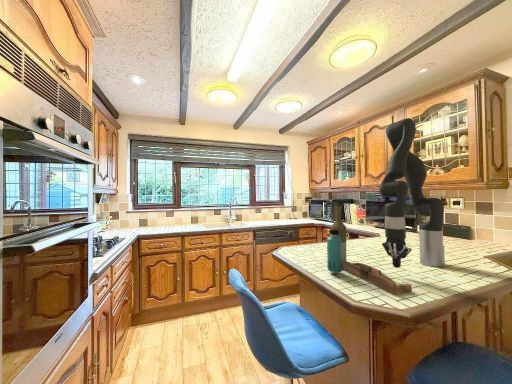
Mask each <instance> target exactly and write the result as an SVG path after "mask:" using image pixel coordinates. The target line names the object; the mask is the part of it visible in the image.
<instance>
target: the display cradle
mask: <svg viewBox="0 0 512 384" xmlns="http://www.w3.org/2000/svg"><path fill="white" fill-rule="evenodd" d="M356 263H357V262H349V261H347V260H346V261H343V268H342V271H343V270H344V271H345V272H347V273H349V274H351V275H353V276H355V277H357V278H359V279H361V280H363V281H365V282H367V283H369V284H370V285H373V286H375V287H377V288H379V289H381V290H383V291H385V292H387V293H389V294H391V295H392V296H394V295H395V296H396V295H398V294H406V293H412V290H413V288H412V284H411V283H408V282H407V283H401V284H400V283H398V284H397V282H395V281H394V280H393V281H394V282H393V281H391V280H388V279H386V278H384V277H382V276H379V275H377V274H375V273H372V268H371V267H372V266H371V267H370V265H369V266H367V265H368V264H366V263H362V262H361V263H362V264H360V267H359V266H357V265H355V264H356ZM365 264H366V265H365Z"/></svg>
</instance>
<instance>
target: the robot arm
mask: <svg viewBox="0 0 512 384" xmlns="http://www.w3.org/2000/svg"><path fill="white" fill-rule="evenodd" d="M416 130H417V129H416V122H415V121H414V120H413V119H412V118H410V117H407V118H403V119H400V120H398V121H395V122H393V123H390V124H387V126H386V127H385V134H386V135H385V136H386V137H387V140H388V142H389V144H390V145H391V148H392V149H393V152H392V153H391V155H390V156H389V159H388V163H387V166H386V167H387V168H386V173H385V174H384V177H383V178H382V181H381V182H380V185H379V187H378V188H379V194H380V195H381V197H383V198H396V200H395V201H393V202H388V203H386V204H384V215H385V216H384V233H385V238H386V239H385V242H382V243H381V246H382V247H383V249H384V250H385V253H386V254H387V256H388V257H389V256H390V257H391V258H392V260H391V261H392V263H391V264H392V266H393V267H394V268H397V269H398V268H399V269H400V268H401V267H402V266H401V265H402V264H401V263H402V259H406V257H407V256H408V255H409V254H410V253H411V251H412V248H411V247H408V246H407V243H406V238H407V233H406V232H407V230H406V228H407V227H406V219H405V218H406V217H405V205H406V198H407V195H408V192H409V193H410V197H411V198H410V199H411V202H412V205H413V209H414V211H415V213H416V214H417V215H418V216H423V217H429V220H427V221H426V222H420V223H419V225H418V236H419V237H418V238H419V239H418V240H419V263H420V264H422V265H424V266H429V267H434V268H435V267H436V268H439V267H444V266H445V265H446V261H445V258H446V257H445V245H444V237H443V236H444V235H443V233H444V232H443V227H444V219H445V217H444V216H445V215H444V213H445V206H444V202H443V200H442V199H441V198H438V197H435V198H434V197H425V196H424V193H423V186H424V185H425V181H426V179H427V176H428V175H427V169H426V167H425V164H424V161H423V160H422V159H421V158H420V157H418V156H417V155H416V154H414V153H413V152H411V151H410V150H411V147H412V145H413V142H414V138H415V135H416ZM403 178H404V179H405V180H401V179H403Z"/></svg>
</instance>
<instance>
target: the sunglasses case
mask: <svg viewBox="0 0 512 384" xmlns="http://www.w3.org/2000/svg"><path fill="white" fill-rule="evenodd" d="M355 263H356V264H355V265H357V266H359V267H360V264H362V262H361V263H360V262H355ZM364 264H365V265H367V266H370V265H368V264H366V263H364ZM370 267H371V268H372V273H375V274H377V275H379V276H382V277H384V278H386V279H388V280H391V281H393V282H395V281H394V280H393V279H392V278H390V277H389V276H388V275H386V274H384V273H383V272H382V271H381V270H379V269H377V268H375V267H373V266H370Z"/></svg>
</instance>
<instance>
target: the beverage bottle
mask: <svg viewBox="0 0 512 384" xmlns="http://www.w3.org/2000/svg"><path fill="white" fill-rule="evenodd" d="M328 233H329V234H328V235H330V236H327V238H326V241H327V242H326V245H327V246H326V249H327V250H326V252H327V253H326V254H327V255H326V257H327V263H326V267H327V270H328V271H329V272H331V273H337V274H338V273H342V271H343V268H342V247H341V241H342V240H341V238H339V237H337V236H332V235H338V234H339V230H337V229H331V228H330V229H329V232H328ZM331 234H332V235H331Z"/></svg>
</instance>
